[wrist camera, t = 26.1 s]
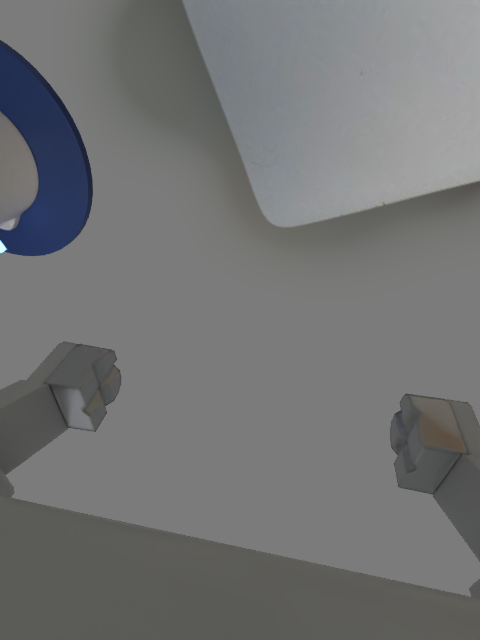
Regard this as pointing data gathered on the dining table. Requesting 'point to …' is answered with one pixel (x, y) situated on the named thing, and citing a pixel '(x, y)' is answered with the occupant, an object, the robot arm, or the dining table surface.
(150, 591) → the robot arm
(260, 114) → the dining table surface
